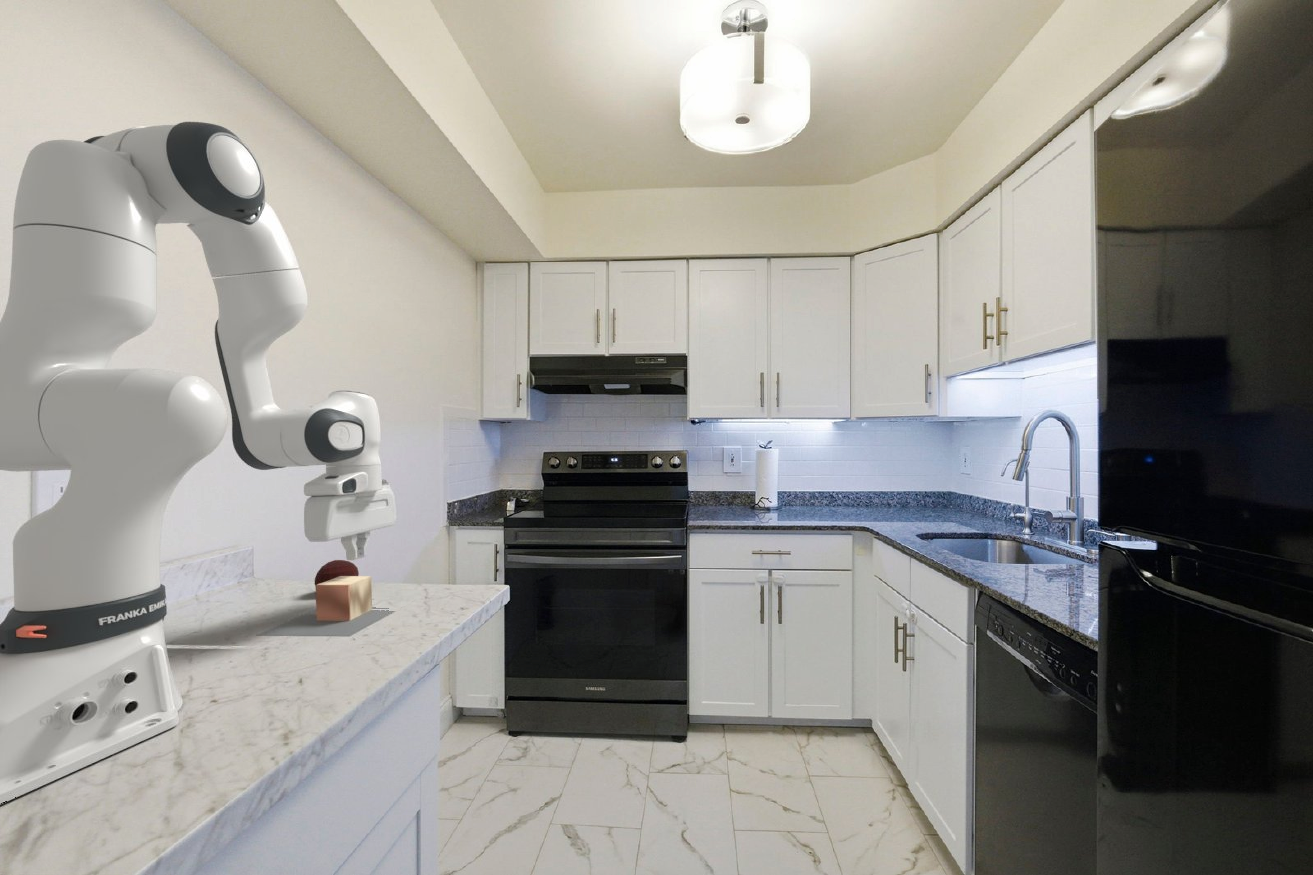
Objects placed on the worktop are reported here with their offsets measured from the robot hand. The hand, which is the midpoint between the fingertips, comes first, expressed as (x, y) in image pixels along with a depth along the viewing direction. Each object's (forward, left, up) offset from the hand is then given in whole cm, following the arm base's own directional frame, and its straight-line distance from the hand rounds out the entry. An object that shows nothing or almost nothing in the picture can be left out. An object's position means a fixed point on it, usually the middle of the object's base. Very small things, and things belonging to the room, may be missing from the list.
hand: (356, 558), depth 98 cm
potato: (+11, +12, -10) cm, 19 cm away
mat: (-4, 0, -10) cm, 10 cm away
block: (0, 0, -6) cm, 6 cm away
